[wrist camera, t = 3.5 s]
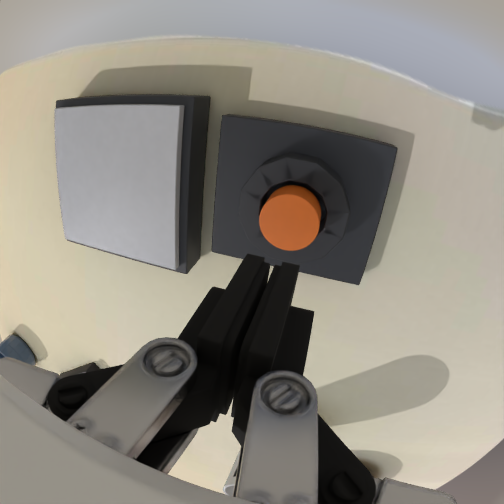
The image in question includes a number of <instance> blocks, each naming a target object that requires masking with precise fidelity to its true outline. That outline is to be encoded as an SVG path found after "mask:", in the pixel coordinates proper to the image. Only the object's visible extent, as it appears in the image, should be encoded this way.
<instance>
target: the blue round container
mask: <svg viewBox="0 0 504 504" xmlns="http://www.w3.org/2000/svg"><path fill="white" fill-rule="evenodd" d="M4 357H10V358H14V359H17V360H20V361H22V362H25V363H28V364H30V365H33V366H35V364H36V363H35V357H34V355H33V353H32V351H31V350H30V348H29V347H28V346H27V344H26V343H25V342H24V341H23V340H22V339H21V338H19V337H18V336H16V335H9V336H8V337H7V338H6V339H5V340H4V341H3V342H2V343H1V344H0V358H4Z"/></svg>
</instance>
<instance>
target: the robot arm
mask: <svg viewBox="0 0 504 504" xmlns="http://www.w3.org/2000/svg"><path fill="white" fill-rule="evenodd" d="M299 267H300V265H296V264H291V263H287V262H282V265H281V266H280V265H275V266H274V268H273V271H272V273H271V276H270V278H269V281H268V275H269V269H270V263H267V262H265V257H261V256H257V255H252V254H247V255H246V256H245V258H244V260H243V261H242V263H241V265H240V266H239V268H238V270H237V271H236V273H235V275H234V276H233V278H232V279H231V281H230V283H229V284H228V286H227V288H226V289H221V288H217V287H212V288H211V289H210V291H209V292H208V294H207V295H206V297H205V298H204V300H203V301H202V303H201V304H200V306H199V307H198V309H197V310H196V312H195V313H194V315H193V316H192V318H191V319H190V321H189V322H188V324H187V325H186V327H185V328H184V330H183V331H182V333H181V334H180V336H179V337H178V339H176V338H168V337H165V338H158V339H155V340H152V341H150V342H148V343H147V344H146V345H144V346H143V347H142V348H141V349H140V350H139V351H138V352H137V353H136V354H135V355H134V356H133V357H132V358H131V359H129V360H128V361H127V362H126V363H125V364H123V365H119V366H114V367H110V368H105V369H101V370H96V371H91V372H86V373H81V374H76V375H71V376H67V377H64V378H60V377H59V375H58V374H57V373H54V372H51V371H48V370H45V369H42V368H39V367H36V366H33V365H30V364H28V363H25V362H22V361H20V360H17V359H14V358H10V357H4V358H0V504H457V502H456V500H455V499H454V498H453V497H452V496H451V495H450V494H448V493H446V492H442V491H437V490H433V489H428V488H424V487H419V486H415V485H411V484H407V483H403V482H400V481H396V480H392V479H389V478H384V479H383V480H381V479H377V478H374V477H373V476H372V475H371V473H370V472H369V470H368V469H367V468H366V467H365V466H364V465H363V464H362V463H361V462H360V461H359V460H358V459H357V457H356V456H355V455H354V454H353V453H352V452H351V451H350V450H349V449H348V447H347V446H346V445H345V444H344V443H343V442H342V441H341V440H340V439H339V437H338V436H337V435H336V434H335V433H334V432H333V431H332V429H331V428H330V427H329V426H328V425H327V424H326V423H325V421H324V420H323V419H322V418H321V417H320V416H319V414H318V406H317V394H316V389H315V388H314V386H313V385H312V383H311V382H310V381H309V380H308V379H307V378H305V377H304V376H303V372H304V367H305V362H306V357H307V351H308V346H309V340H310V335H311V329H312V323H313V317H314V311H310V310H306V309H302V308H298V307H293V306H291V302H292V298H293V294H294V290H295V285H296V281H297V276H298V272H299ZM267 281H268V283H267ZM233 397H234V398H233ZM232 399H233V405H232V413H231V417H234V420H233V427H232V432H233V434H234V435H235V437H236V439H237V440H238V442H239V443H240V445H241V449H240V455H239V461H238V468H237V474H236V480H235V486H234V491H233V497H232V496H229V495H225V494H222V493H219V492H215V491H212V490H209V489H206V488H203V487H200V486H197V485H194V484H191V483H189V482H186V481H183V480H181V479H178V478H175V477H173V476H170V475H168V473H169V471H170V470H171V468H172V467H173V466H174V464H175V463H176V462H177V460H178V459H179V457H180V456H181V455H182V453H183V452H184V450H185V449H186V448H187V446H188V445H189V443H190V442H191V441H192V439H193V438H194V436H195V435H196V433H197V431H198V429H199V428H200V427H203V426H206V425H209V424H210V422H211V421H214V422H216V421H217V419H218V416H219V414H220V413H221V414H224V415H226V414H227V412H228V409H229V407H230V404H231V402H232Z"/></svg>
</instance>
